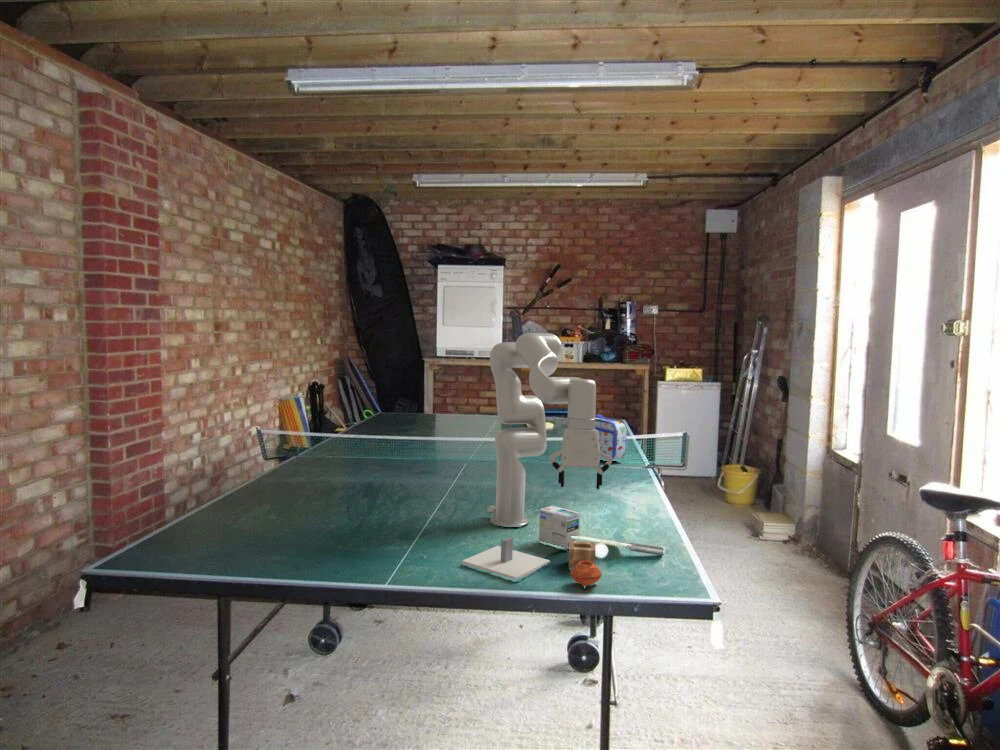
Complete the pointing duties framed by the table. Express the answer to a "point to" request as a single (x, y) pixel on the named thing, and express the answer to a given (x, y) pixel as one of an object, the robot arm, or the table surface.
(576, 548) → the oak collar
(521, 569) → the plate
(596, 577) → the pot
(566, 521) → the light bulb box
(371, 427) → the table surface
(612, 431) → the lunch box
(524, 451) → the robot arm
